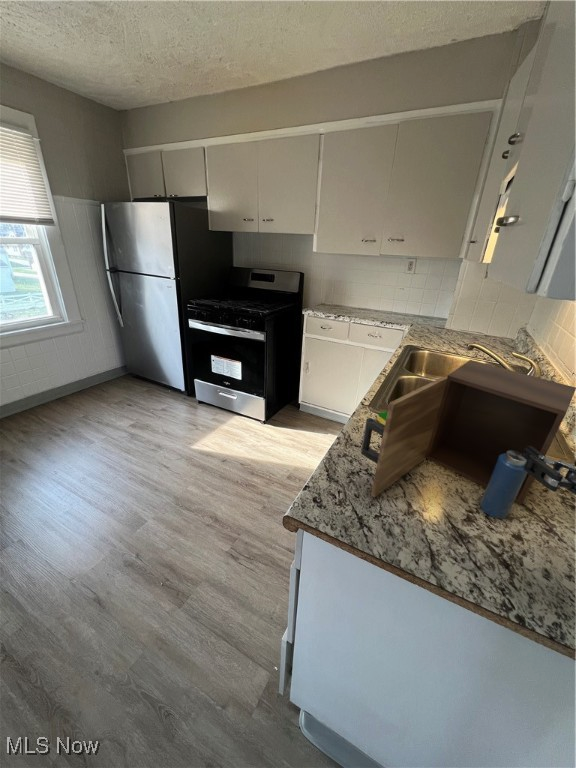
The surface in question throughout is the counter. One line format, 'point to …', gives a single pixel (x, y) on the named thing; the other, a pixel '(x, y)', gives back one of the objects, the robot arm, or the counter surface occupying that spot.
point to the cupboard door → (403, 434)
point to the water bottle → (504, 484)
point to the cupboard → (494, 419)
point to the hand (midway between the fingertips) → (551, 455)
